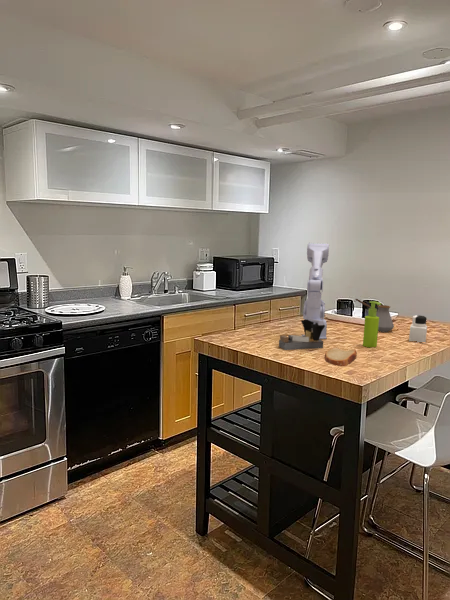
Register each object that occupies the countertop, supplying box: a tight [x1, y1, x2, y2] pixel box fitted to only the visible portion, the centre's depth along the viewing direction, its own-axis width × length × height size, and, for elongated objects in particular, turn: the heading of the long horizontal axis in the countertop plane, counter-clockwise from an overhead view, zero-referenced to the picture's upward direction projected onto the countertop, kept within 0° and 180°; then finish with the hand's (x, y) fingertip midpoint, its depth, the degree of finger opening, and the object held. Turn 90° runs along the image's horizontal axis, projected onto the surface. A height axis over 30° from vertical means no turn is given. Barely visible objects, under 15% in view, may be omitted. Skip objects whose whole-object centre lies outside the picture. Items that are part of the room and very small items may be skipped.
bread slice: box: [324, 346, 358, 367], centre depth 186 cm, size 18×18×4 cm
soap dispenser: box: [362, 300, 382, 348], centre depth 206 cm, size 6×7×20 cm
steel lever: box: [287, 334, 309, 342], centre depth 199 cm, size 9×2×2 cm, turn 76°
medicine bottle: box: [408, 314, 428, 343], centre depth 220 cm, size 7×7×12 cm
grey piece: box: [278, 334, 324, 351], centre depth 201 cm, size 18×6×5 cm, turn 107°
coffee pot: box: [354, 298, 395, 333], centre depth 243 cm, size 21×12×15 cm, turn 53°
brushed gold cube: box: [304, 330, 314, 341], centre depth 202 cm, size 4×4×4 cm
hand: (311, 338), depth 203 cm, fingers open, 7 cm apart
